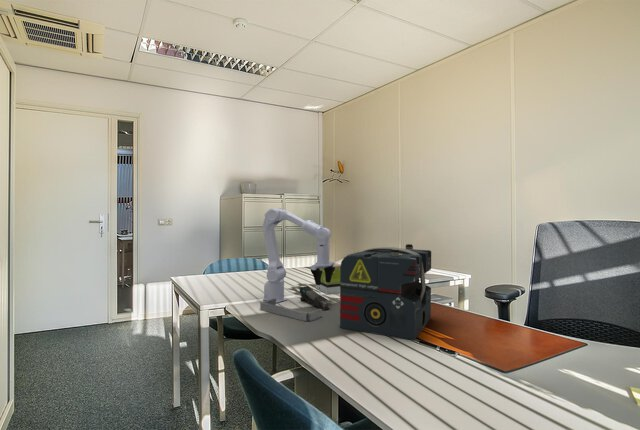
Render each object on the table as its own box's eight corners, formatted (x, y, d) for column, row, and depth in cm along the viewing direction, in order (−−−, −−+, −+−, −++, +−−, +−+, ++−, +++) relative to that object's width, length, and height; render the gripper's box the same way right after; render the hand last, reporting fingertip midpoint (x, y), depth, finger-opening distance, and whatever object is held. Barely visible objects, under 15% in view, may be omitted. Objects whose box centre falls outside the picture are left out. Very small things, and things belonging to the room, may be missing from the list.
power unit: (339, 328, 134) (339, 247, 133) (365, 309, 158) (366, 241, 158) (415, 341, 121) (416, 251, 120) (431, 319, 145) (432, 244, 145)
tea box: (315, 288, 198) (315, 262, 198) (331, 287, 203) (331, 260, 202) (327, 294, 185) (327, 266, 185) (344, 293, 189) (344, 264, 189)
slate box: (258, 309, 158) (258, 302, 158) (273, 305, 165) (273, 298, 165) (308, 322, 141) (308, 314, 140) (322, 316, 148) (322, 309, 148)
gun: (304, 298, 176) (308, 280, 173) (327, 322, 161) (332, 302, 158) (297, 299, 174) (300, 281, 171) (319, 323, 158) (323, 304, 155)
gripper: (320, 256, 158) (320, 287, 158) (339, 253, 169) (339, 282, 170) (307, 255, 162) (307, 285, 163) (327, 252, 174) (327, 280, 174)
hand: (323, 283), depth 166 cm, fingers open, 7 cm apart
